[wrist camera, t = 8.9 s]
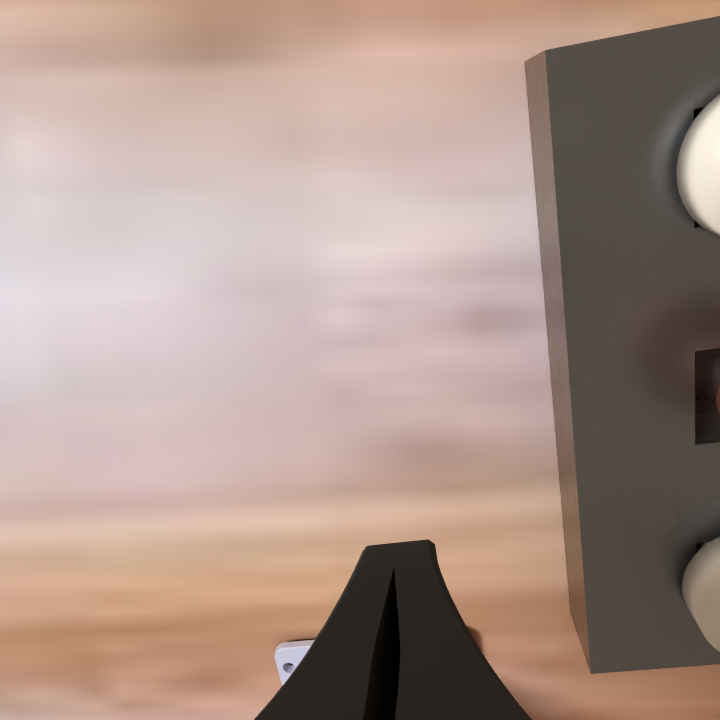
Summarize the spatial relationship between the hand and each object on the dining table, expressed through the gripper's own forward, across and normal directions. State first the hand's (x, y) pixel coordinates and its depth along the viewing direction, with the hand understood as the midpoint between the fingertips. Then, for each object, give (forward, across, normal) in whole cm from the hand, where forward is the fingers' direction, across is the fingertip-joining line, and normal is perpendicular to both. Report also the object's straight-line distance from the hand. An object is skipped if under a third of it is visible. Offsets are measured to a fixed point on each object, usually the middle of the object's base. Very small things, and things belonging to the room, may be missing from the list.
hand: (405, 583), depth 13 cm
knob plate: (+10, -10, +1) cm, 14 cm away
